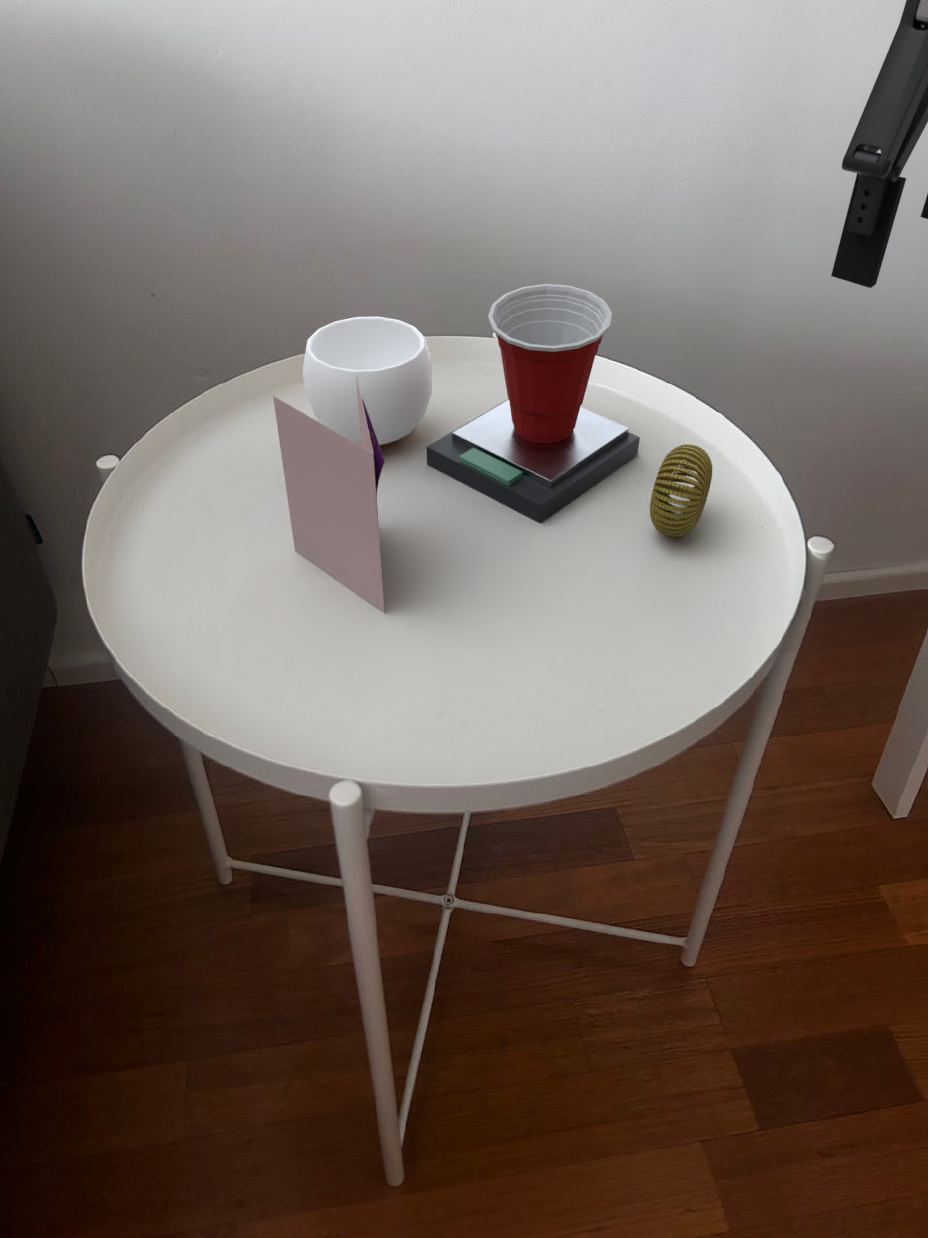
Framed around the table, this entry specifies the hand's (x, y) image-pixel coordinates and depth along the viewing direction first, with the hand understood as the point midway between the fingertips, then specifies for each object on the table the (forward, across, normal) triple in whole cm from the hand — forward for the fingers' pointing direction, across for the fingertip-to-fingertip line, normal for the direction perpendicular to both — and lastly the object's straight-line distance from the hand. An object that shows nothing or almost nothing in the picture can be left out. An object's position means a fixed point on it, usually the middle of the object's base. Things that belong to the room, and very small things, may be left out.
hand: (899, 249), depth 68 cm
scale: (+27, +4, -27) cm, 38 cm away
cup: (+27, +11, -42) cm, 51 cm away
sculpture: (+27, +4, -11) cm, 29 cm away
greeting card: (+27, +28, -28) cm, 48 cm away
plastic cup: (+24, +3, -27) cm, 36 cm away
